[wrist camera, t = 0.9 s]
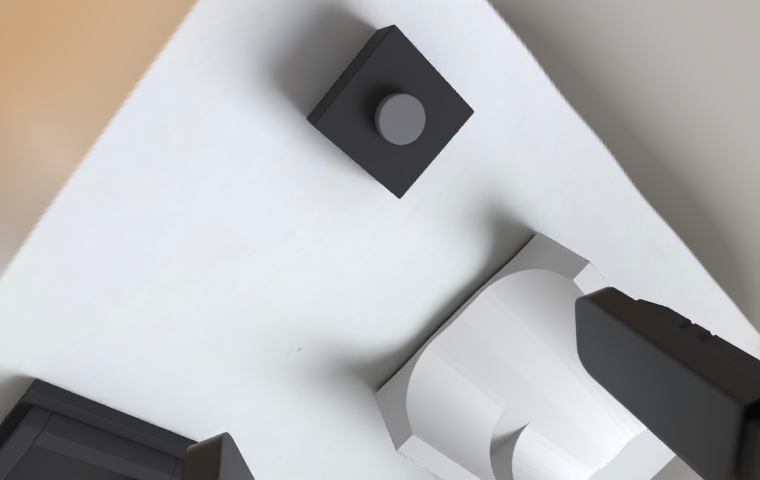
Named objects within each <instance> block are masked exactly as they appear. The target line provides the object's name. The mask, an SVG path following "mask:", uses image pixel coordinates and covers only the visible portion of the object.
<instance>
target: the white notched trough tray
mask: <svg viewBox="0 0 760 480" xmlns="http://www.w3.org/2000/svg"><path fill="white" fill-rule="evenodd" d="M605 287H610V286H609V285H608V283H607V282H606V281H605V280H604V278H603V277H602V276H601V275H600V273H599V272H598V271H597V270H596V268H595V267H594V266H593V265H592V263H591V262H590V261H588V260H586V259H584V258H583V257H581V256H579V255H577V254H576V253H574V252H572V251H571V250H569V249H567V248H565V247H564V246H562V245H560V244H559V243H557V242H555V241H554V240H552V239H550V238H548V237H546V236H545V235H543V234H541V233H539V232H538V233H537V234H536V235H535V236H534V237H533V238H532V239H531V240H530V241H529V243H528V244H527V245H526V246H525V247H524V248H523V249H522V250H521V251H520V252H519V253H518V254H517V255H516V256H515V257H514V258H513V259H512V260H511V261H510V262H509V263H508V264H506V265H505V266H504V267H503V268H502V269H501V270H500V271H499V272H498V273H497V274H495V275H494V276H493V277H492V278H491V279H490V280H489V281H488V282H487V283H485V284H484V285H483V286H482V287H481V288H480V289H479V290H478V291H477V292H476V293H475V294H474V295H473V296H472V297H471V298H470V299H469V300H468V301H466V302H465V303H464V304H463V305H462V306H461V307H460V308H459V309H458V310H457V311H456V312H455V313H454V314H453V315H452V316H451V317H450V318H449V319H448V320H447V321H446V322H445V323H444V324H443V325H442V326H441V327H440V328H439V329H438V330H437V331H436V332H435V333H434V334H433V335H432V336H431V337H430V338H429V339H428V340H427V341H426V343H425V344H424V345H423V346H422V347H421V348H420V349H419V350H418V351H417V352H416V353H415V354H414V355H413V357H412V358H411V359H410V360H409V361H408V362H407V363H406V364H405V365H404V366H403V367H402V368H401V369H400V371H398V372H397V373H396V374H395V375H394V376H393V377H392V378H391V379H390V380H389V381H388V382H387V383H386V384H385V385H384V386H382V387H381V388H380V389H379V390H378V391H377V392H376V393H375V394H374V395H375V397H376V400H377V403H378V405H379V408H380V411H381V413H382V416H383V418H384V421H385V423H386V426H387V428H388V431H389V433H390V436H391V439H392V441H393V444H394V447H395V449H396V451H397V452H398V453H400V454H402V455H403V456H405V457H407V458H408V459H410V460H412V461H413V462H415V463H417V464H418V465H420V466H422V467H423V468H425V469H426V470H428V471H430V472H431V473H433V474H435V475H436V476H438V477H440V478H441V479H443V480H588V479H589V478H590V477H591V476H592V475H593V474H594V473H595V472H596V471H598V470H599V469H600V468H602V467H603V466H604V465H606V464H607V463H608V462H610V461H611V460H612V459H614V458H615V456H616V455H617V454H618V453H619V452H620V451H621V450H622V449H623V448H624V447H625V446H626V444H627V443H628V442H629V441H630V440H631V439H632V438H633V437H634V436H636V435H637V434H639V433H641V432H643V431H645V430H648V428H647V427H646V426H645V425H644V424H642V423H641V422H640V421H639V420H638V419H637V418H636V417H635V416H634V415H633V414H631V413H630V412H629V411H628V410H627V409H626V408H625V407H624V406H623V405H622V404H621V403H619V402H618V401H617V400H616V399H615V398H614V397H613V396H612V395H611V394H610V393H608V392H607V391H606V390H605V389H604V388H603V387H602V386H601V385H600V384H599V383H598V382H596V381H595V380H594V379H593V378H592V377H591V376H590V375H589V374H588V373H587V371H586V370H585V368H584V367H583V365H582V363H581V361H580V359H579V356H578V353H577V342H576V323H575V301H576V299H577V298H579V297H581V296H584V295H586V294H589V293H592V292H594V291H597V290H599V289H602V288H605Z"/></svg>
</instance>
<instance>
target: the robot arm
mask: <svg viewBox="0 0 760 480" xmlns="http://www.w3.org/2000/svg"><path fill="white" fill-rule="evenodd" d="M575 323H576V342H577V353H578V356H579V359H580V361H581V363H582V365H583V367H584V368H585V370H586V371H587V373H588V374H589V375H590V376H591V377H592V378H593V379H594V380H595V381H596V382H598V383H599V384H600V385H601V386H602V387H603V388H604V389H605V390H606V391H607V392H608V393H610V394H611V395H612V396H613V397H614V398H615V399H616V400H617V401H618V402H619V403H621V404H622V405H623V406H624V407H625V408H626V409H627V410H628V411H629V412H630V413H631V414H633V415H634V416H635V417H636V418H637V419H638V420H639V421H640V422H641V423H642V424H644V425H645V426H646V427H647V428H648V429H649V430H650V431H651V432H652V433H653V434H654V435H656V436H657V437H658V438H659V439H660V440H661V441H662V442H663V443H664V444H665V445H667V446H668V447H669V448H670V449H671V450H672V451H673V452H674V453H675V454H676V455H677V456H679V457H680V458H681V459H682V460H683V461H684V462H685V463H686V464H687V465H688V466H690V467H691V468H692V469H693V470H694V471H695V472H696V473H697V474H698V475H700V476H701V477H702V478H703V479H704V480H760V360H758V359H757V358H755V357H753V356H751V355H750V354H748V353H746V352H744V351H743V350H741V349H739V348H738V347H736V346H734V345H732V344H731V343H729V342H727V341H725V340H724V339H722V338H720V337H718V336H717V335H714V336H713V335H712V334H711V333H710V331H708V330H706V329H705V328H703V327H701V326H699V325H698V324H696V323H695V324H692V323H691V320H689V319H687V318H685V317H684V316H682V315H680V314H678V313H677V312H675V311H673V310H672V309H670V308H668V307H665V306H662V305H658V304H655V303H652V302H649V301H645V300H642V299H639V300H634V299H632V298H631V297H629V296H627V295H626V294H624V293H622V292H621V291H619V290H617V289H616V288H613V287H605V288H602V289H599V290H597V291H594V292H592V293H589V294H586V295H584V296H581V297H579V298H577V299H576V301H575ZM180 480H255V479H254V477H253V475H252V474H251V472H250V470H249V468H248V466H247V464H246V462H245V461H244V459H243V457H242V455H241V453H240V451H239V449H238V448H237V446H236V444H235V442H234V440H233V438H232V437H231V435H230V434H229V433H227V432H225V433H222V434H220V435H217V436H215V437H212V438H209V439H207V440H204V441H202V442H199V443H196V444H194V445H191V446H189V447H188V448H187V450H186V453H185V457H184V463H183V468H182V474H181V479H180Z"/></svg>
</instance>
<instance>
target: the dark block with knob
mask: <svg viewBox="0 0 760 480" xmlns="http://www.w3.org/2000/svg"><path fill="white" fill-rule="evenodd" d="M473 113H474V110H473V109H472V108H471V107H470V106H469V105H468V104H467V103H466V102H465V101H464V100H463V98H462V97H461V96H460V95H459V94H458V93H457V92H456V91H455V90H454V89H453V88H452V86H451V85H450V84H449V83H448V82H447V81H446V80H445V79H444V78H443V77H442V76H441V74H440V73H439V72H438V71H437V70H436V69H435V68H434V67H433V66H432V65H431V64H430V62H429V61H428V60H427V59H426V58H425V57H424V56H423V55H422V54H421V53H420V52H419V50H418V49H417V48H416V47H415V46H414V45H413V44H412V43H411V42H410V41H409V40H408V38H407V37H406V36H405V35H404V34H403V33H402V32H401V31H400V30H399V29H398V28H397V26H396V25H391V26H388V27H385V28H382V29H379V30H377V31H376V32H375V34H374V35H373V36H372V37H371V39H370V40H369V41H368V42H367V44H366V45H365V46H364V47H363V49H362V50H361V51H360V52H359V54H358V55H357V56H356V57H355V59H354V60H353V61H352V62H351V64H350V65H349V66H348V67H347V69H346V70H345V71H344V72H343V74H342V75H341V76H340V77H339V79H338V80H337V81H336V82H335V84H334V85H333V86H332V87H331V89H330V90H329V91H328V92H327V94H326V95H325V96H324V97H323V99H322V100H321V101H320V102H319V104H318V105H317V106H316V107H315V109H314V110H313V111H312V112H311V114H310V115H309V116H308V117H307V120H308V121H309V122H310V123H311V124H312V125H313V126H314V127H315V128H316V129H318V130H319V131H320V132H321V133H322V134H323V135H325V136H326V137H327V138H328V139H329V140H330V141H332V142H333V143H334V144H335V145H336V146H338V147H339V148H340V149H341V150H342V151H343V152H345V153H346V154H347V155H348V156H349V157H350V158H352V159H353V160H354V161H355V162H356V163H357V164H359V165H360V166H361V167H362V168H363V169H365V170H366V171H367V172H368V173H369V174H370V175H372V176H373V177H374V178H375V179H376V180H377V181H379V182H380V183H381V184H382V185H383V186H385V187H386V188H387V189H388V190H389V191H390V192H392V193H393V194H394V195H395V196H396V197H397V198H399V199H400V198H401V197H402V196H403V195H404V194H405V193H406V192H407V190H408V189H409V188H410V187H411V186H412V185H413V183H414V182H415V181H416V180H417V179H418V178H419V176H420V175H421V174H422V173H423V172H424V170H425V169H426V168H427V167H428V166H429V165H430V163H431V162H432V161H433V160H434V159H435V158H436V156H437V155H438V154H439V153H440V152H441V151H442V149H443V148H444V147H445V146H446V145H447V144H448V142H449V141H450V140H451V139H452V138H453V137H454V135H455V134H456V133H457V132H458V131H459V129H460V128H461V127H462V126H463V125H464V124H465V122H466V121H467V120H468V119H469V118H470V117H471V115H472V114H473Z"/></svg>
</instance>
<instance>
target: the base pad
mask: <svg viewBox="0 0 760 480" xmlns="http://www.w3.org/2000/svg"><path fill="white" fill-rule="evenodd" d="M196 443H197V442H195V441H192V440H190V439H187V438H185V437H182V436H180V435H177V434H175V433H172V432H170V431H167V430H164V429H162V428H159V427H157V426H154V425H152V424H149V423H147V422H144V421H142V420H139V419H137V418H134V417H132V416H129V415H126V414H124V413H121V412H119V411H116V410H114V409H111V408H109V407H106V406H104V405H101V404H99V403H96V402H94V401H91V400H88V399H86V398H83V397H81V396H78V395H76V394H73V393H71V392H68V391H66V390H63V389H61V388H58V387H56V386H53V385H50V384H48V383H45V382H43V381H40V380H38V379H36V380H35V381H34V382H33V384H32V385H31V386H30V387H29V389H28V390H27V391H26V393H25V394H24V395H23V396H22V398H21V399H20V400H19V401H18V403H17V404H16V405H15V407H14V408H13V409H12V410H11V412H10V413H9V414H8V416H7V417H6V418H5V419H4V421H3V422H2V423H1V425H0V480H180V479H181V474H182V468H183V463H184V457H185V453H186V450H187V448H188V447H189V446H191V445H194V444H196Z"/></svg>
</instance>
